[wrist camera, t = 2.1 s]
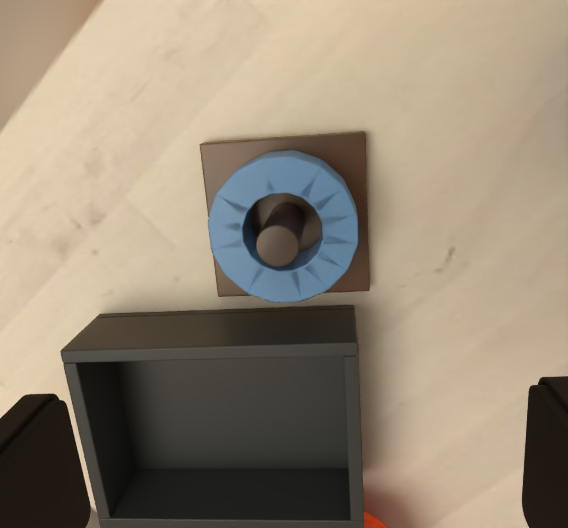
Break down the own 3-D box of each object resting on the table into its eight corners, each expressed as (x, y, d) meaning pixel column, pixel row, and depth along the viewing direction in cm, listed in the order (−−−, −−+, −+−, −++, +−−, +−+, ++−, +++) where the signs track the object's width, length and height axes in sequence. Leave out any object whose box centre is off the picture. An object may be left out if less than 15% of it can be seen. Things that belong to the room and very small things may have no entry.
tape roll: (212, 155, 25) (199, 162, 23) (353, 146, 24) (355, 151, 22) (227, 286, 27) (217, 304, 25) (357, 280, 27) (360, 300, 24)
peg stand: (203, 142, 26) (169, 154, 21) (364, 131, 25) (373, 140, 20) (220, 291, 28) (195, 337, 23) (368, 285, 27) (377, 331, 22)
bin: (98, 313, 29) (59, 350, 25) (354, 304, 28) (358, 342, 24) (130, 472, 33) (100, 529, 28) (360, 472, 31) (364, 532, 27)
